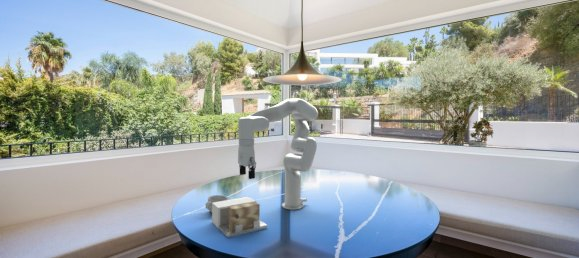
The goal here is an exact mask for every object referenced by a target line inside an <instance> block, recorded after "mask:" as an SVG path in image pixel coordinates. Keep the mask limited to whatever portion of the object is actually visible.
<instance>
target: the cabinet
mask: <svg viewBox="0 0 579 258" xmlns="http://www.w3.org/2000/svg"><path fill="white" fill-rule="evenodd" d="M253 202H257V201H256V200H255V199H254V198H252V197H250V196H243V197H239V198H232V199H227V200H225V201H219V202H213V203H212V212H211V222H212V224H213V225H214V226H215V227H216V228H217V229H218V225H222V224H227V223H229V207H231V206H236V205H242V204H247V203H253Z"/></svg>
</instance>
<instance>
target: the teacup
mask: <svg viewBox="0 0 579 258" xmlns="http://www.w3.org/2000/svg"><path fill="white" fill-rule="evenodd" d="M225 200H229V198H228V197H227V196H226V195H219V194H217V195H211V196H208V197H207V202H206V203H205V208H206V210H208V211H210V213H212V203H213V202H219V201H225Z"/></svg>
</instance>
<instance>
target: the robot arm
mask: <svg viewBox="0 0 579 258" xmlns="http://www.w3.org/2000/svg"><path fill="white" fill-rule="evenodd" d="M290 115H291V118H292V119H293V121H294V123H295V129H294V133H293V136H292V139H291V144H290V149H291V150H292V151H293V152H296V153H293V152H291V153H287V154H286V155H285V156H284V157H283V161H282V163H283V170H284V202H282V203H281V207H282V208H283V209H284V210H285V209H286V210H291V211H293V210H295V211H296V210H300V209H303V208H304V204H303V203H305V202H308V199H307V198H306V197H304V198H303V197H301V195H302V194H301V193H302V175H301V172H302V173H307V172H309V171H310V170H311V168H312V166H313V163H314V159H315V155H316V151H317V144H318V143H317V141H316V140H315V138H313V137H310V136H309V133H310V126H309V124H308V122H315V121H316V120H317V119H318V117H319V111H318V110H317V107H315V106H314V105H313V104H311V103H310V102H308V101H307V100H305V99H302V98H287V99H285V100H282V101H281V102H279V103H278V104H275V105H273V106H270V107H267V108H264V109H261V110H258V111H256V112H254V113H251V114H249V115H248V116H246V117H245V116H244V117H243V116H242V117H239V118H238V121H237V122H238V125H237V126H238V150H237V151H238V152H237V163H238V164H239V165H238V166H239V167H238V168H239V176H245V175H246V174H247V169H248V180H253V179H255V178H256V167H257V161H256V154H255V153H256V152H255V132H265V131H266V130H268V128H269V127H270V123H275V122H279V121H281V120H283V119H285V118H287V117H288V116H290ZM300 153H301V154H300ZM246 168H247V169H246Z"/></svg>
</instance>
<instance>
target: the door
mask: <svg viewBox="0 0 579 258" xmlns="http://www.w3.org/2000/svg"><path fill="white" fill-rule="evenodd" d="M260 206H261V204H260V203H258V202H257V201H256V202H253V203H247V204H242V205H236V206H231V207H229V229H231V230H232V231H234V230H235V225H236V224H240V223H241V224H242V228H247V227H251V226H253V221H254V220H260V211H261V210H260V209H261V208H260Z"/></svg>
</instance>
